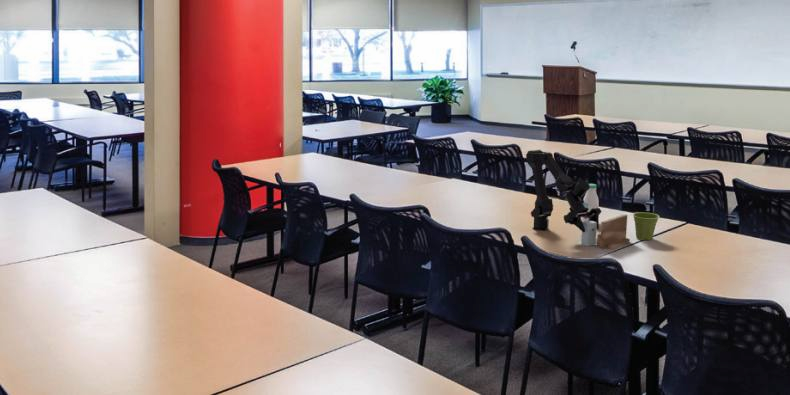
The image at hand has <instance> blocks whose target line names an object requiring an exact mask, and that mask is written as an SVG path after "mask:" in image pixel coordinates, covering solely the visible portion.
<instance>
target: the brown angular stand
mask: <svg viewBox="0 0 790 395" xmlns="http://www.w3.org/2000/svg"><path fill="white" fill-rule="evenodd" d="M627 226H628V214H620V215H618V216H615V217H614V216H613V217H612V218H609V219H606V220H603V221H600V233H598V234H596V246H599V248H600V249H610V250H614V249H616V248H619V247H621V246H624V245H626V244H628V243H630V242H631V239H630V238H627V230H628V229H627ZM623 244H624V245H623Z"/></svg>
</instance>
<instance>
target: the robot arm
mask: <svg viewBox="0 0 790 395" xmlns="http://www.w3.org/2000/svg"><path fill="white" fill-rule="evenodd" d="M525 159H526V161H527V165H528V166H529V167H530V168H531V172H532V175H533V176H532V177H533V182H534V188H535V193H536V199H535V202H534V208H533V209H532V210H531V212H530V216H531V217H532V218H533V227H532V230H538V231H547V230H548V229H549V227H550V220H549V217H551V216H552V212H553V211H554V202H553V199H552V198H550V197H549V196H548V195H547V188H546V183H545V177H544V171H543V165H545V166H546V167H547V169H548V170H549V173H550V174H551V175H552V177H553V178H554V182H555V186H556V189H557V190H558V191H559V192H560V193H564V194H563V195H562V196H563V197H562V198H561V199H562V201H566V202H567V203H568V206H569V211H568V213H567V214H564V215H563V221H564V222H565V224H569V225H572V226H573V225H574V226H575V227H576V228H578V229H579V231H581V233H582V232H585V228H584V225H583V223H582V217H586V216H587V217H588V218H589V220H588V221H594V222H597V229H596V231H598V230H600V222H599V217H600V215H601V214H602V212H603V211H602V209H601V208H600V207H598V208H592V209H591V210H590V211H589V212H587V211H588V210H589V209H588V208H585V206H584V204H583V203H584V199H583V200H582V199H581V197H583V196H585V195H586V193H587V191H588V190H589V188H590V186H589V184H590V183H589V182H587V181H586V180H583V178H578V179H577V180H576V181H575V182H574V180H573V179H572V178H571V177H570V176H569V175H567V174H565V172H564V171H563V170H562V168H561V167H560V165H559V164H558V162H557V161H556V160H555V158H554V155H553V153H552V152H550V151H549V152H548V151H542V149H533V150H528V151H527V152H526V154H525Z"/></svg>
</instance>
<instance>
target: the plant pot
mask: <svg viewBox="0 0 790 395" xmlns="http://www.w3.org/2000/svg"><path fill="white" fill-rule="evenodd" d="M632 216H633V220H634V225H635V226H634V228H635V237H636V239H638V240H640V241H641V240H643V241H647V240H648V241H651V240H653V238H654V233H655V229H656V226H657V223H658V220H659V219H660V215H659V214H657V213H652V212H640V211H639V212H634V213H633V214H632Z"/></svg>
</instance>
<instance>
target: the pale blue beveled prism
mask: <svg viewBox="0 0 790 395" xmlns="http://www.w3.org/2000/svg"><path fill="white" fill-rule="evenodd" d="M582 223H583V225H584V228H585V232H582V231H581V239H580V240H581V241H580V242H581V243H580V244H581V245H583V246H586V247H591V246H595V245H596V246H597V244H596V238H597V222H594V221H585V222H582Z"/></svg>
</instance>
